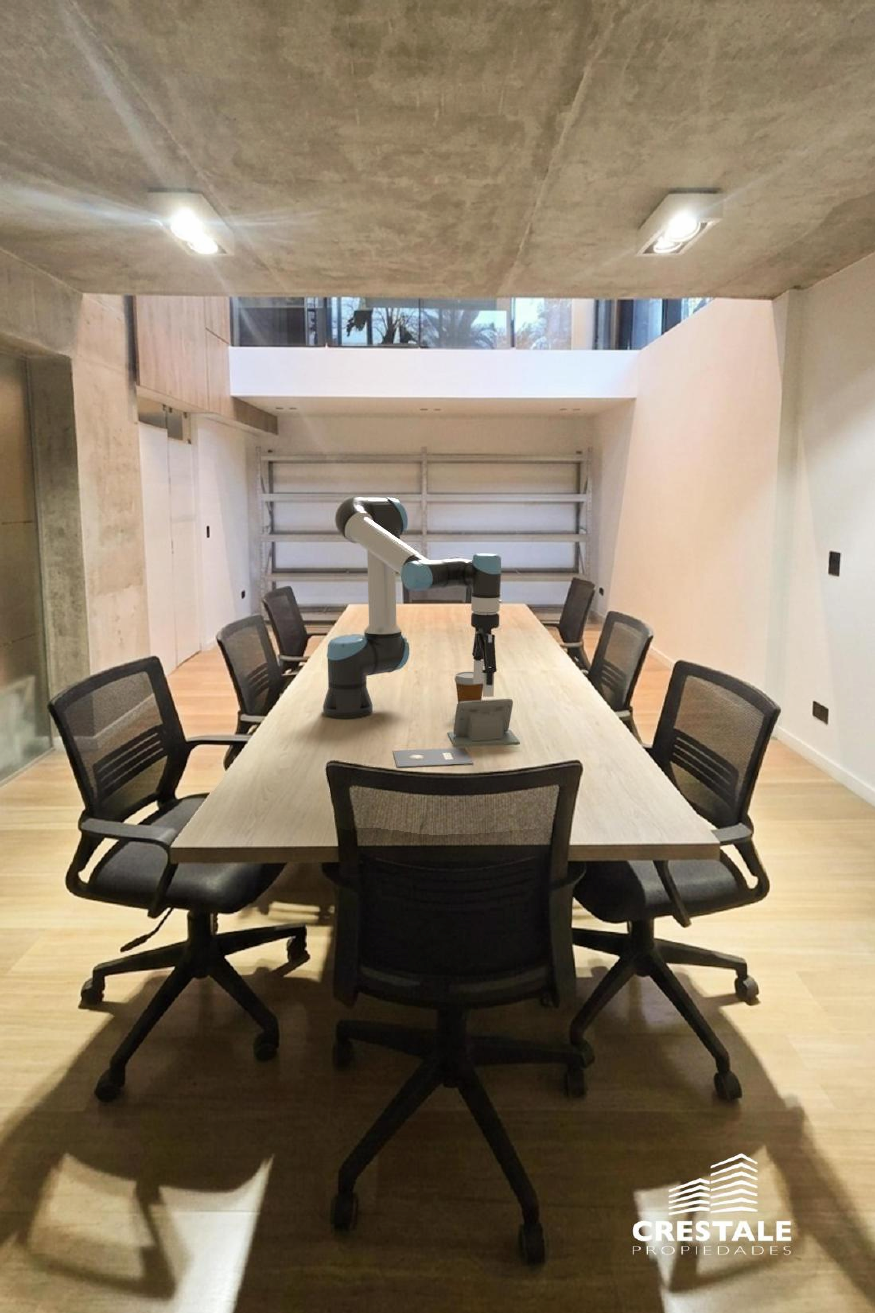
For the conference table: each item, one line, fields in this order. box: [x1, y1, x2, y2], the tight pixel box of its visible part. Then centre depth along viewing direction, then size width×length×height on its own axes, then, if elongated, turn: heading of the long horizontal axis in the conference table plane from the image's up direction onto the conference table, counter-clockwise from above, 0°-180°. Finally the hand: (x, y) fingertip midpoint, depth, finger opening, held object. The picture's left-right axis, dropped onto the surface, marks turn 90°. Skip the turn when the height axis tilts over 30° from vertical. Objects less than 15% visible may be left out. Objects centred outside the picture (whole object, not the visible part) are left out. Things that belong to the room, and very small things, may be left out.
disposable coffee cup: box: [453, 671, 483, 704], centre depth 235 cm, size 10×10×12 cm
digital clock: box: [452, 698, 514, 741], centre depth 210 cm, size 16×9×11 cm, turn 93°
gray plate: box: [392, 747, 474, 768], centre depth 195 cm, size 19×12×1 cm, turn 98°
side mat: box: [447, 729, 521, 747], centre depth 211 cm, size 18×11×1 cm, turn 98°
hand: (482, 689), depth 209 cm, fingers open, 13 cm apart
